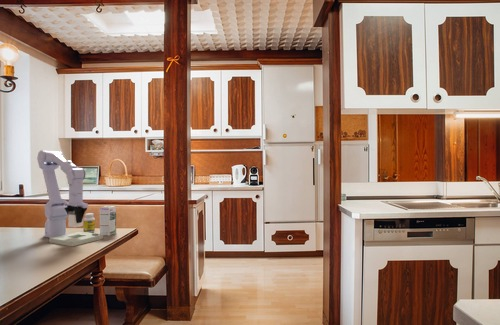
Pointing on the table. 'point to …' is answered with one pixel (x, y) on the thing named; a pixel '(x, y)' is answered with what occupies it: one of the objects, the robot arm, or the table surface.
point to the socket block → (76, 238)
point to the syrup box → (108, 220)
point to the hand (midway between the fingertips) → (75, 222)
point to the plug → (73, 220)
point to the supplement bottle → (89, 223)
